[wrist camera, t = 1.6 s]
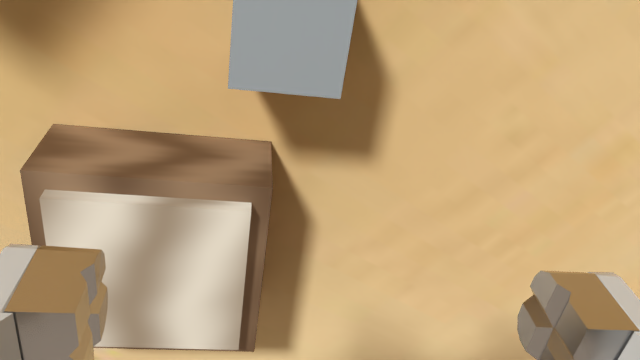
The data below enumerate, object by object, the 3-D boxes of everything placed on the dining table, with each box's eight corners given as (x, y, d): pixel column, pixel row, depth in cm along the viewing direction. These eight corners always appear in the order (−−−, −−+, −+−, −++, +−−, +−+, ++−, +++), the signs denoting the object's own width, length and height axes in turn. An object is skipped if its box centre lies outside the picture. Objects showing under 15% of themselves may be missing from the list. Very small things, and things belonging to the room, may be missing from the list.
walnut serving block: (270, 141, 33) (273, 196, 28) (254, 294, 39) (254, 361, 34) (53, 124, 31) (13, 179, 26) (72, 287, 37) (43, 357, 32)
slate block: (341, -43, 28) (359, -16, 23) (326, 54, 30) (340, 99, 25) (239, -57, 27) (234, -32, 22) (233, 44, 29) (228, 88, 24)
